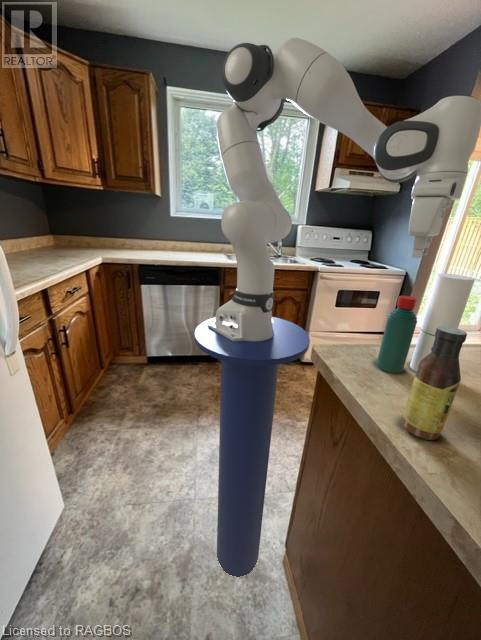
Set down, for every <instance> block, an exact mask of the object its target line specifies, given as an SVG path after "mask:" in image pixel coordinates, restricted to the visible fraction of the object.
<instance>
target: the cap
mask: <svg viewBox="0 0 481 640" xmlns="http://www.w3.org/2000/svg"><path fill="white" fill-rule="evenodd" d="M417 301H418V299H417V298H416V297H415V296H410V295H399V296H398V299H397V303H396V307H400V308H404V309H413V310H414V309H415V308H416V304H417Z"/></svg>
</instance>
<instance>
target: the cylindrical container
mask: <svg viewBox="0 0 481 640" xmlns="http://www.w3.org/2000/svg"><path fill="white" fill-rule="evenodd" d="M475 280H476V278H474V277H471V276H466V275H461V274H452V273H437V274H436V278H435V280H434V284H433V288H432V292H431V294H430V298H429V301H428V304H427V307H426V311H425V314H424V317H423V321H422V324H421V327H420V331H419V334H418V338H417V341H416V344H415V348H414V351H413V354H412V357H411V360H410V364H409V367H410V369H411V370H412V371H414V372H415V373H417V370H418V365H419V363H420V361H421V360H422V359H423V358H424V357H425V356H427V355H428V354H430V353H431V352H432V351H431V348H432V347H433V344H434V341H435V333H436V330H437V327H440V326H446V327H452V328H456V329H459V326H460V324H461V320H462V317H463V315H464V313H465V309H466V307H467V303H468V300H469V299H470V295H471V292H472V290H473V286H474V284H475Z"/></svg>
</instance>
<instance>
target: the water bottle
mask: <svg viewBox="0 0 481 640" xmlns="http://www.w3.org/2000/svg"><path fill="white" fill-rule="evenodd" d="M413 310H414V309H404V308H400V307H398V306H396V308H395V309H394V310H392V311H391V312H389V314H388V315H387V319H386V323H385V326H384V327H385V328H384V331H383V335H382V339H381V344H380V346H379V351H378V355H377V360H376V362H375V363H376V366H377V368H379V369H380V370H382V371H384V372H387V373H390V374H401V373H403V372H404V369H405V365H406V361H407V358H408V356H409V352H410V348H411V344H412V341H413V338H414V334H415V331H416V327H417V323H418V318H417V316H416V314H415V311H413Z"/></svg>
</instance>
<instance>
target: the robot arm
mask: <svg viewBox="0 0 481 640" xmlns="http://www.w3.org/2000/svg"><path fill="white" fill-rule="evenodd" d="M221 78H222V83H223V86H224V89H225V91H226V93H227V94H228V96H229V97H230V98H231V99H232V100H233V102H232V104H231V106H230V107H228V108H226V109H225V110H223V111H222V112H221V113H220V114H219V116H218V118H217V120H216V137H217V142H218V144H217V145H218V150H219V156H220V158H221V161H222V162H221V164H222V166H223V170H224V174H225V177H226V181H227V185H228V187H229V189H230V191H231V192H232V193H233V195H234V196H236V197H237V199H238V200H239V201H236V202H232V203H230V204H228V205H227V206H226V207H225V208H224V210H223V211H222V214H221V218H220V226H221V231H222V233H223V235H224V237H225V238H226V239H227V240H228V241H229V242H230V244H231V247H232V249H233V252H234V256H235V260H236V288H235V289H232V290H229V292H230V293H229V295H232V297H231V299H230V300H229V301H227V302H226V303H224V304H222V305H221V306H220V307H218V308H217V309H216V312H215V316H214V318H215V319H214V320H212V321H211V322H209V324H208V327H209V328H211V329H213V330H215V331H216V332H218V333H220V334H221V335H223V336H225V337H227V338H228V339H230V340H232V341H264V340H268V339H270V338H272V337H273V336H274V331H273V326H272V323H273V319H272V317H273V315H272V313H273V312H272V311H273V307H274V296H275V294H274V293H275V292H274V282H275V281H274V280H275V268H276V267H275V264H274V263H273V261H272V259H271V258H270V255H269V250H268V249H269V248H268V244H274V243H277V242H279V241H281V240H283V239H285V238H287V236H288V235H289V234H290V232H291V230H292V226H293V219H292V216H291V214H290V212H289V211H288V210H287V209H286V208H285V206H284V205H283V203H282V202H281V199H280V198H279V196H278V194H277V191H276V190H275V188H274V186H273V184H272V181H271V180H270V177H269V174H268V172H267V168H266V167H267V166H266V164H265V161H264V156H263V153H262V149H261V144H260V141H259V137H258V132H262V131H264V130H265V129H266V128H267V127H269V126H271V125H272V124H274V123H275V122H276V121H277V120H278V119H279V117H280V116H281V114H282V112H283V110H284V106H285V100H286V101H289V102H291V103H292V104H293V105H294V106H295V107H296V108H297V109H299V111H301V112H303V114H305V115H306V116H308V117H309V118H311V119H313V120H315V121H317V122H319V123H321V124H323V125H325V126H327V127H330V128H331V129H333V130H335V131H337V132H339V133H341V134H343V135H344V136H346V137H347V138H349V139H350V140H351V141H352V142H354V144H355V145H357V146H358V147H359V148H361V149H362V150H363V151H364V152H365V153H367V154H368V155H369V156H370V157H371V158H372V159H373V160H374V162H375V164H376V166H377V169H378V172H379V174H380V176H381V178H383V180H384V181H386V182H388V183H392V184H401V183H403V182H404V183H405V182H406V181H409V180H411V179H412V178H413V177H415V176H416V177H415V181H414V184H413V186H412V190H411V194H410V196H411V198H410V199H411V200H412V204H411V210H410V216H409V221H408V235H409V236H412V237H414V239H413V246H412V247H413V249H412V254H411V257H412V258H414V259H420V258H422V257H425V256H427V254H428V251H429V248H430V245H431V243H432V241H433V238H434V237H437V236H439V234H440V232H441V231H442V230H441V229H442V226H443V223H444V218H445V215H446V212H447V211H446V210H447V209H450V208H451V207H452V202H453V201H457V200H460V199H461V197H462V193H463V191H464V190H463V189H464V187H465V184H466V179H467V176H468V172H469V161H470V159H471V156H472V155H473V154H474V151H475V149H476V146H477V143H478V140H479V136H480V131H481V100H480V99H479V98H477V97H474V96H472V95H468V94H453V95H450V96H446V97H443V98H441V99H440V100H438V102H436V103H435V104H434V105H433V106H431V107H429V108H428V109H426V110H425V111H422V112H421V113H419V114H417V115H415V116H413V117H410V118H407V119H404V120H400V121H396V122H394V123H392V124H390V125H389V126H387V125H385V124H384V123H383V122H382V121H381V120H379V119H378V117H375V115H373V113H371V112H370V111H369V109H367V107H366V106H365V105H364V103H363V101H362V99H361V97H360V95H359V93H358V91H357V88H356V86H355V84H354V81H353V79H352V77H351V76H350V74H349V72H348V71H347V70H346V69H345V67H344V65H342V64H341V62H340V61H339V60H337V58H336V57H334V56H333V55H332V54H330V53H329V52H328V51H326V50H325V49H323V48H322V47H320V46H318V45H317V44H315V43H313V42H310V41H308V40H306V39H302V38H299V37H292V38H289V39H287V40H285V41H284V42H283V43H282V45H281V46H280V48H279V49H278V51H277V52H276V53H274V54H273V51H272V49H271V48H270V46H269V45H267V44H259V45H258V44H254V43H251V42H241V43H239V44H236V45H235V46H233V47H232V48H231V49H230V50H229V51H228V52H227V54H226V56H225V58H224V60H223V62H222V66H221Z"/></svg>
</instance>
